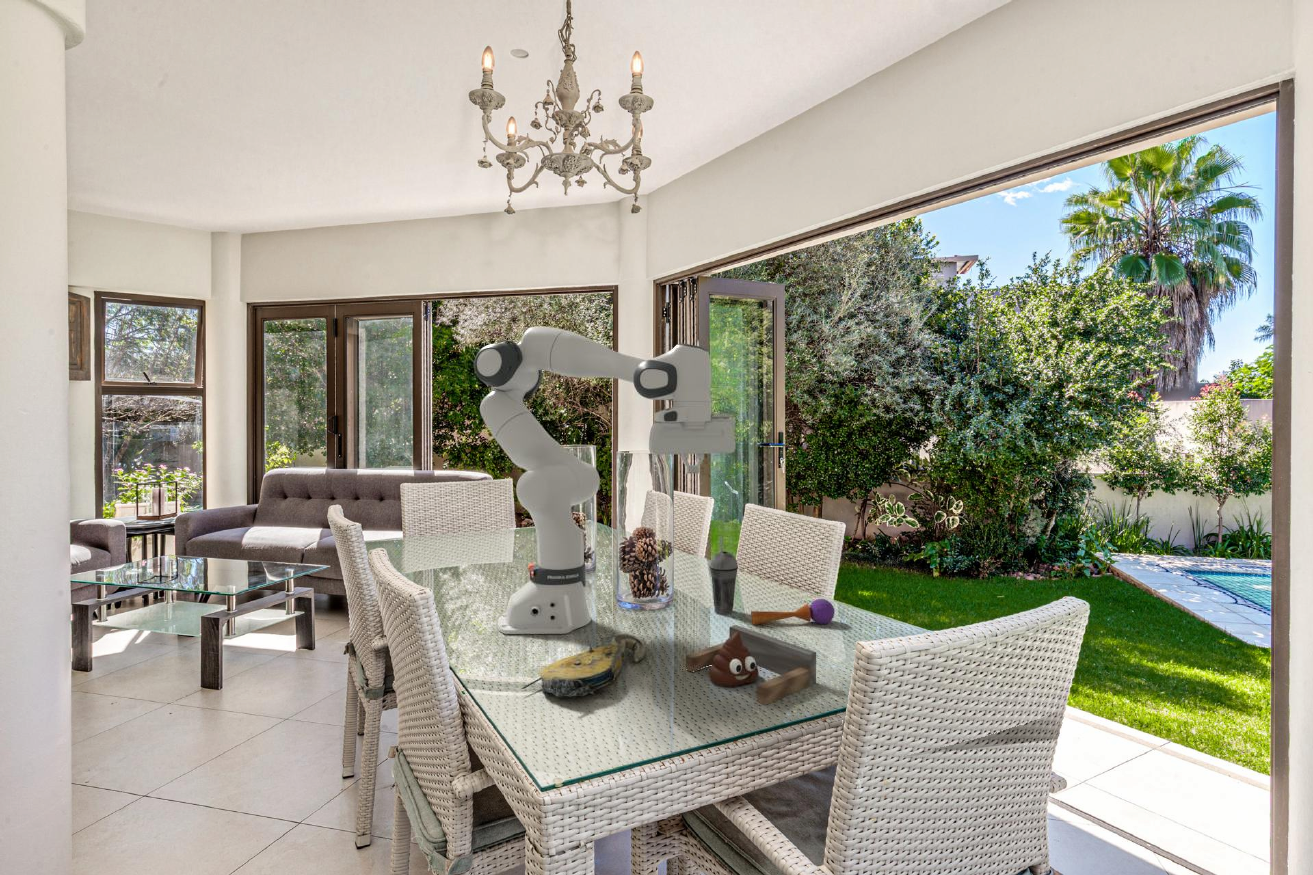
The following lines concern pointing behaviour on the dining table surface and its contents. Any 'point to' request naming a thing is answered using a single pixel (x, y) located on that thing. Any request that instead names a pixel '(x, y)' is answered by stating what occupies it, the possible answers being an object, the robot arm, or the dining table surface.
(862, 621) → the dining table surface
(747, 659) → the poop emoji
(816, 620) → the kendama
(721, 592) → the beverage cup
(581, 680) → the pulley block
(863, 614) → the dining table surface
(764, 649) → the channel
